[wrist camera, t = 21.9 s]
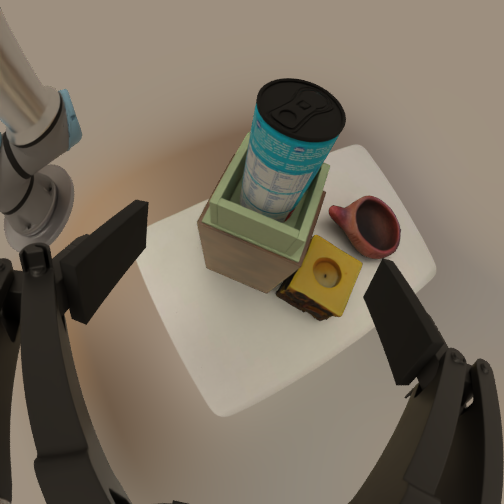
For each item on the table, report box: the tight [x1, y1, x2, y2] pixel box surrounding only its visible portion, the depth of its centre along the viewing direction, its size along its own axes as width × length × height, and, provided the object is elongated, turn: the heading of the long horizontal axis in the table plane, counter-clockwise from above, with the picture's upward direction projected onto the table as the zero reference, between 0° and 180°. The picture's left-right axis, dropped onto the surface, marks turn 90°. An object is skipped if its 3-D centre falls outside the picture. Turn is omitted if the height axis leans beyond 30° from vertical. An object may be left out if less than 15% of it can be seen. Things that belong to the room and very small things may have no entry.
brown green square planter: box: [197, 154, 326, 293], centre depth 41 cm, size 12×10×22 cm
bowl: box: [329, 196, 401, 259], centre depth 51 cm, size 16×13×8 cm
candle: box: [276, 235, 363, 321], centre depth 46 cm, size 10×10×10 cm
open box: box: [202, 132, 330, 263], centre depth 27 cm, size 11×10×5 cm
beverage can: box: [240, 78, 346, 223], centre depth 22 cm, size 6×6×15 cm
